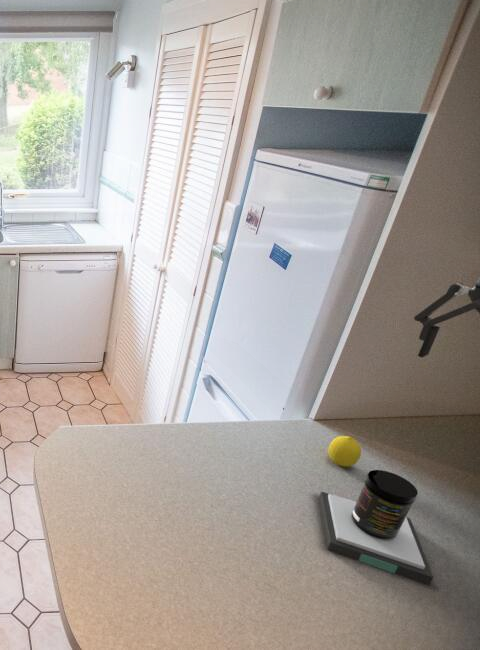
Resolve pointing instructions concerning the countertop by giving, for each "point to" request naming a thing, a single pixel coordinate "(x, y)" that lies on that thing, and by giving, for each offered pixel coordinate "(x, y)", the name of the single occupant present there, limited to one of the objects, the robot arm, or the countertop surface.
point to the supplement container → (383, 504)
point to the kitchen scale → (372, 541)
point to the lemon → (344, 451)
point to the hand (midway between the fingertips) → (466, 369)
